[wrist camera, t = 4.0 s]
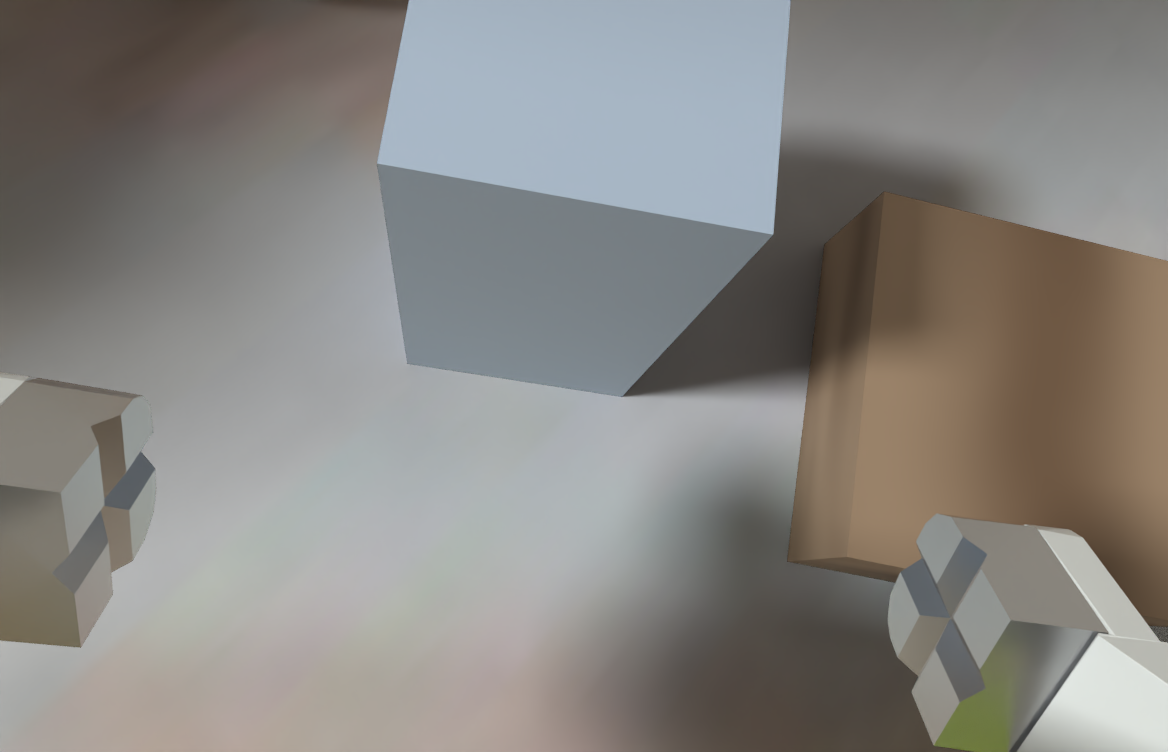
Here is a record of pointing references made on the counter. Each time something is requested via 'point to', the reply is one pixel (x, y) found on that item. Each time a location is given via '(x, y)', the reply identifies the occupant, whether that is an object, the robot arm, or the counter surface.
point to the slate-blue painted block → (576, 178)
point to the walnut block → (984, 394)
